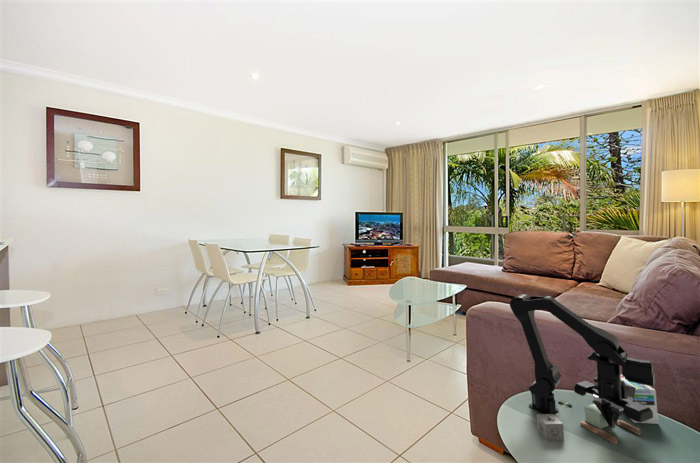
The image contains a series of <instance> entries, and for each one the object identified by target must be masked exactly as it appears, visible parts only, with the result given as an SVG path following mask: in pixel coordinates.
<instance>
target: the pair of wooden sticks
mask: <svg viewBox="0 0 700 463" xmlns="http://www.w3.org/2000/svg"><path fill="white" fill-rule="evenodd" d="M579 423H580V425H581V426H582V427H583V428H585V429H587V430H589V431H591V432H593V433H594V434H596V435H598V436H599V437H602V438H603V439H605V440H607V441H609V443H610V442H611V443H612V444H614V445H617V444H619V443H618V442H619V441H618V437H616V436H615V435H613V434H610V433H609V432H607V431H605V430H603V429H602V428H601V429H600V428H598V427H597V428H596V426H594V425H592V424H590V423H588V422H587V421H586V422H585V421H584V420H581V421H579ZM616 425H618V426H620V427H622V428H624V429H625V430H627V431H630V432H631V433H633V434H636V435H638V436H640V435H642V429H641V428H639V427H637V426H635V425H633V424H631V423H628V422H627V421H624V420H622V419H621V420H620V419H618V421H617V423H616Z"/></svg>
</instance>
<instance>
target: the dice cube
mask: <svg viewBox="0 0 700 463" xmlns="http://www.w3.org/2000/svg"><path fill="white" fill-rule="evenodd" d="M536 423H537V431H538V432H539V433H540V435H541V436H542V437H543V439H544V440H545V441H565V435H564V423H563V422H562V421H560V419H559V418H558V417H557V416H556V415H555V414H554V413H551V414H541V413H539V414H538V413H537V414H536Z"/></svg>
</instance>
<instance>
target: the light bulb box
mask: <svg viewBox="0 0 700 463" xmlns="http://www.w3.org/2000/svg"><path fill="white" fill-rule="evenodd" d="M620 376H621V380H623V381H624V382H625V384H628V385H630V386H633V387H635V388H636V390H635V397H634V398H632V397H629V396H628V398H627V399H622V400H624V401H627V402H628V403H632V402H638V403H640V404H643V405H645V406H647V407H649V408H650V409H651V410H652V412H653V418H651V419H648V420H646V421H643V422H637V421H635V420H633V419H630V420H631V421H632V422H633V423H636V424H652V425H653V424H654V425H658V424H659V415H658V405H657V391H656V389H655V388H654V387H652V386H647V385H643V384H638V383H634V382H629V381H628V380H626V379H625V377H623V375H622V374H620Z"/></svg>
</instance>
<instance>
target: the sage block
mask: <svg viewBox="0 0 700 463" xmlns="http://www.w3.org/2000/svg"><path fill="white" fill-rule="evenodd" d="M584 418H585V419H584V420H585V421H586V423H588V424H590V425H592V426H593V427H595V428H596V427H597V429H598V428H599V429H601V430H602V429H604V428H606V427H608V426H609V425H608V423H607V422H606V420H605V418H604V417H603V415H602V414H601V412H600V411H599V409H598V408H597V406H596V405H595V404H593V403H591V404H589V405H586V406H584ZM585 421H584V422H585Z"/></svg>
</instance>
